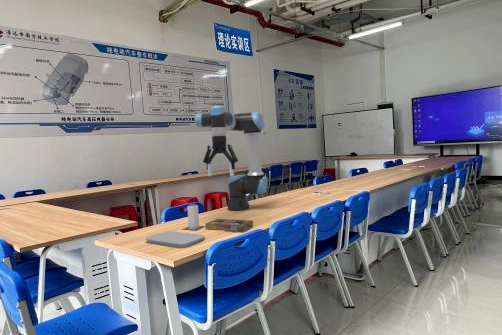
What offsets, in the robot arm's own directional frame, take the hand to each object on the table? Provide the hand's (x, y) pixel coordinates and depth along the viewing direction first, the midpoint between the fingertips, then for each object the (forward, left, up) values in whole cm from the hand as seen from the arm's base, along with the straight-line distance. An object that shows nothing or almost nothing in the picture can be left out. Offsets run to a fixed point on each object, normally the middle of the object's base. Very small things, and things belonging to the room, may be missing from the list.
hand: (220, 175), depth 187 cm
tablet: (+29, -10, -29) cm, 42 cm away
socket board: (+1, +4, -28) cm, 28 cm away
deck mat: (+6, -15, -28) cm, 32 cm away
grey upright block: (+6, -15, -28) cm, 32 cm away
